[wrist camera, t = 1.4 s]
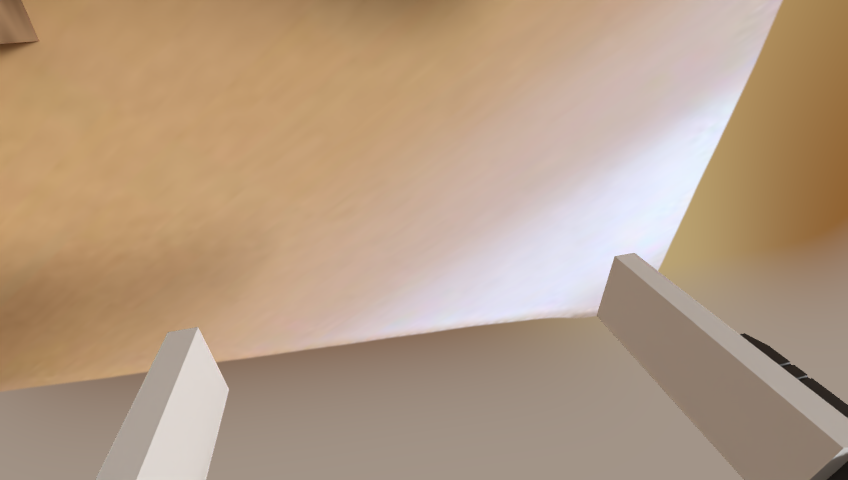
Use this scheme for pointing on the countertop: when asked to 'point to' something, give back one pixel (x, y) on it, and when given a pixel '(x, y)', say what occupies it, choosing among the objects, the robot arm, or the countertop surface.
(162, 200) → the countertop surface
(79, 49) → the countertop surface
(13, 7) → the tee block
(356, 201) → the countertop surface
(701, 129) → the countertop surface
